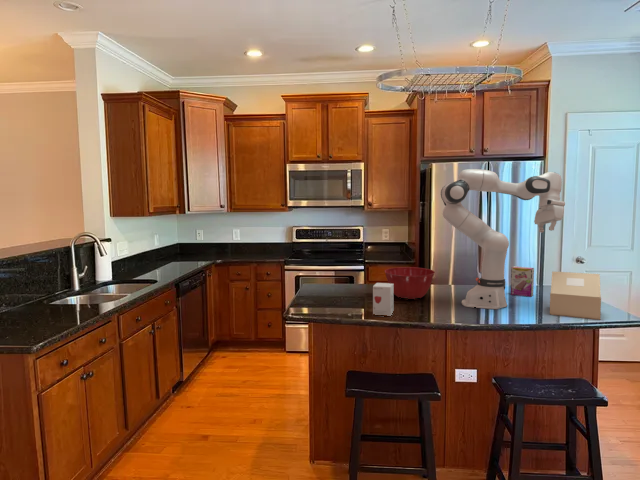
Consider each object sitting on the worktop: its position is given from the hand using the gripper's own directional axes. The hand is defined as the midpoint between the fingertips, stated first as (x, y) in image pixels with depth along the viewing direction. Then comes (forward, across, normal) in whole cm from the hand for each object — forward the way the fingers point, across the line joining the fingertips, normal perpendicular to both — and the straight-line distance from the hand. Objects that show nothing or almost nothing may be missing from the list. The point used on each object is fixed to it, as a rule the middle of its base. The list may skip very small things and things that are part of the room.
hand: (546, 231), depth 206 cm
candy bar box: (+33, -33, +8) cm, 47 cm away
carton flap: (+25, +9, +12) cm, 29 cm away
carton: (+38, +5, +16) cm, 41 cm away
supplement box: (+54, -1, -74) cm, 92 cm away
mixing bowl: (+44, -36, -55) cm, 79 cm away
